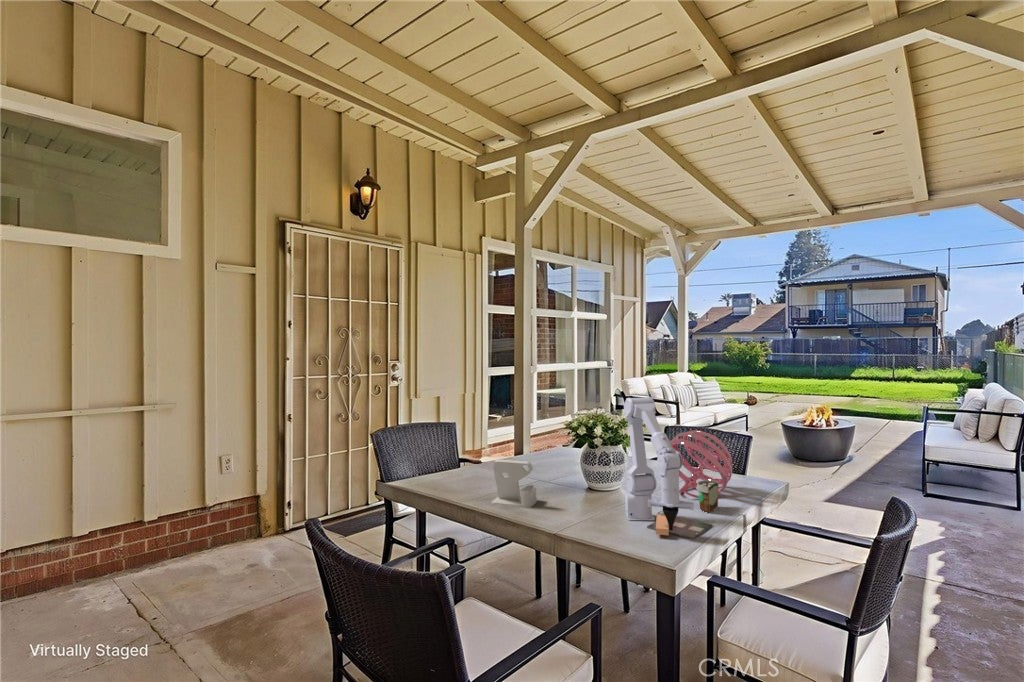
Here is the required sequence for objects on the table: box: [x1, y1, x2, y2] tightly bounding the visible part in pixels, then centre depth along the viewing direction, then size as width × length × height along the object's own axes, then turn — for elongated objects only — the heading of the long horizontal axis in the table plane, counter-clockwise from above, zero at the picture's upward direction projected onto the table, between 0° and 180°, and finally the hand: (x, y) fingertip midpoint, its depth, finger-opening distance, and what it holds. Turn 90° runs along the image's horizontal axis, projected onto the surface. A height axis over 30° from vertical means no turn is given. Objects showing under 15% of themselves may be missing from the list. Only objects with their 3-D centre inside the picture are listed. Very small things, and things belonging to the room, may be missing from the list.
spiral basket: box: [669, 430, 733, 499], centre depth 216 cm, size 28×28×27 cm
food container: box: [695, 480, 720, 514], centre depth 197 cm, size 12×6×10 cm, turn 141°
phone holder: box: [491, 459, 538, 508], centre depth 210 cm, size 17×10×18 cm, turn 69°
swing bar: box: [655, 510, 670, 536], centre depth 176 cm, size 17×4×3 cm, turn 163°
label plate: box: [646, 516, 713, 540], centre depth 178 cm, size 16×17×1 cm
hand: (671, 529), depth 170 cm, fingers closed
